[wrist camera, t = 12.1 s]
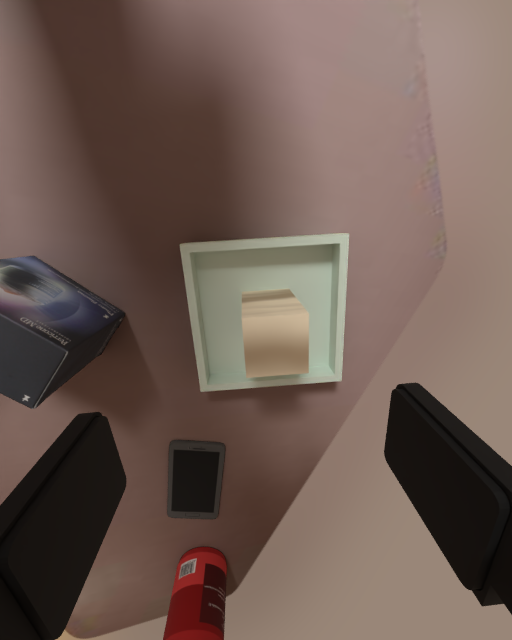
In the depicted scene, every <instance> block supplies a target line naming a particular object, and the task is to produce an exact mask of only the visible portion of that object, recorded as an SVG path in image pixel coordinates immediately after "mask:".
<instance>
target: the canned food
mask: <svg viewBox="0 0 512 640" xmlns="http://www.w3.org/2000/svg"><path fill="white" fill-rule="evenodd" d="M226 574H227V565H226V560H225V557H224V555H223V554H222V553H221V552H220V551H218V550H216V549H214V548H211V547H198V548H194V549H191V550H189V551H188V552H186V553H185V554H184V555H183V556H182V557H181V559H180V562H179V564H178V566H177V571H176V576H175V581H174V586H173V591H172V596H171V602H170V607H169V612H168V617H167V622H166V627H165V632H164V637H163V640H224V621H225V598H226Z"/></svg>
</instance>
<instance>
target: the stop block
mask: <svg viewBox="0 0 512 640" xmlns="http://www.w3.org/2000/svg"><path fill="white" fill-rule="evenodd" d="M242 330H243V343H244V355H245V368H246V378H252V377H265V376H278V375H291V374H304V373H309V313H308V312H307V310H306V309H305V308H304V307H303V305H302V304H301V303H300V302H299V300H298V299H297V298H296V297H295V295H294V294H293V293H292V292H291V290H290V289H289V288H288V289H274V290H259V291H244V292H242Z"/></svg>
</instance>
